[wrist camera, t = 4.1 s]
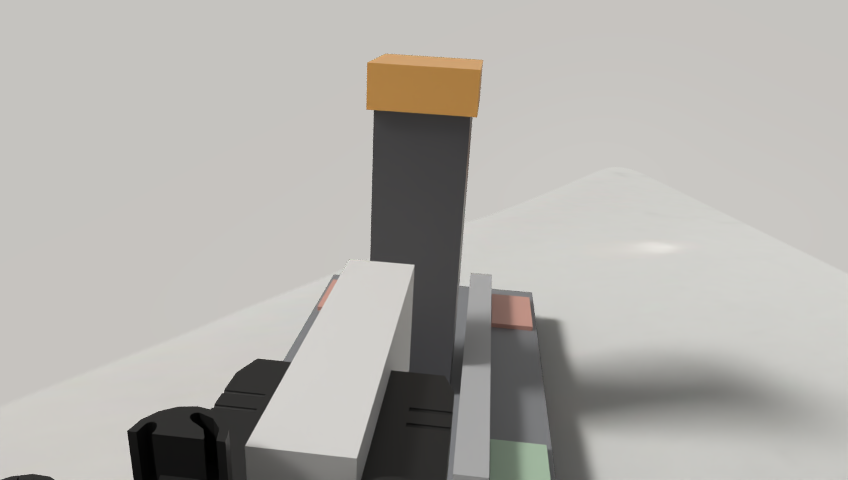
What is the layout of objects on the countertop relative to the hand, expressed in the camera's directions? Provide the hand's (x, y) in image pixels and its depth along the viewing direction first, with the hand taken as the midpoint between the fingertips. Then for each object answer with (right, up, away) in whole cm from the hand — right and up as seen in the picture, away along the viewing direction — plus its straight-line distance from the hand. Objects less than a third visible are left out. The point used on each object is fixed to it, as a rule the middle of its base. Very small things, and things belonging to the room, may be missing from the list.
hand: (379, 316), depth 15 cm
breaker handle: (+1, -3, +10) cm, 10 cm away
